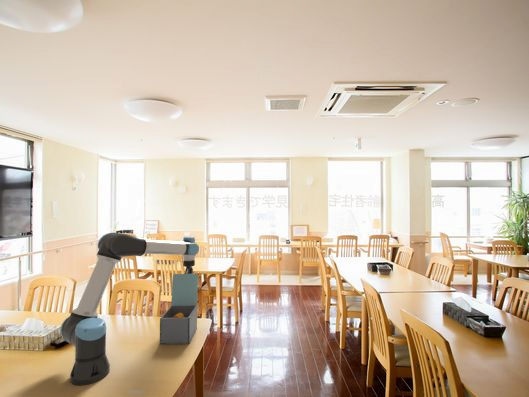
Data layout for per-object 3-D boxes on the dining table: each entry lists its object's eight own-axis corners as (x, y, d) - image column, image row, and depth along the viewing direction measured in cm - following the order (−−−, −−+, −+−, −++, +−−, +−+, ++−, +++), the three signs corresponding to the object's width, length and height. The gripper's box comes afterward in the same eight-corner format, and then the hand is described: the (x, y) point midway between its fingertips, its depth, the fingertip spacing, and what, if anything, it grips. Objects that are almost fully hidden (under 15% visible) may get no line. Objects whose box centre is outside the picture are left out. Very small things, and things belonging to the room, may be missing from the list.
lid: (198, 273, 178) (198, 273, 179) (172, 274, 178) (173, 273, 178) (196, 305, 174) (197, 305, 175) (171, 305, 174) (171, 305, 175)
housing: (189, 343, 154) (189, 318, 154) (159, 344, 153) (159, 318, 154) (196, 328, 174) (197, 305, 174) (170, 328, 173) (171, 305, 174)
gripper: (192, 261, 181) (192, 298, 180) (196, 258, 194) (196, 292, 193) (180, 261, 181) (180, 298, 180) (185, 258, 194) (185, 292, 193)
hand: (188, 295), depth 187 cm, fingers closed
